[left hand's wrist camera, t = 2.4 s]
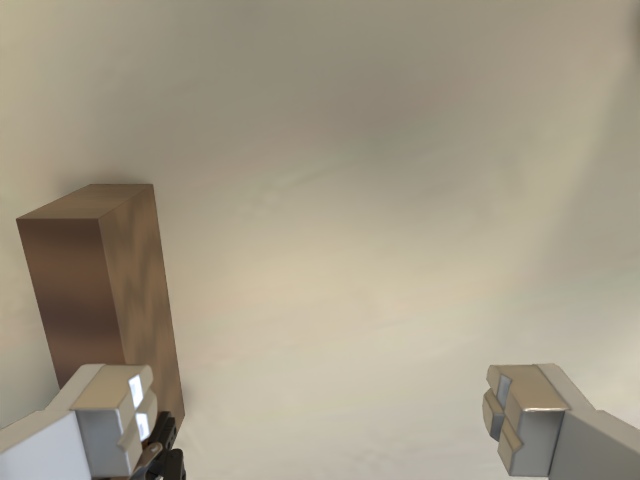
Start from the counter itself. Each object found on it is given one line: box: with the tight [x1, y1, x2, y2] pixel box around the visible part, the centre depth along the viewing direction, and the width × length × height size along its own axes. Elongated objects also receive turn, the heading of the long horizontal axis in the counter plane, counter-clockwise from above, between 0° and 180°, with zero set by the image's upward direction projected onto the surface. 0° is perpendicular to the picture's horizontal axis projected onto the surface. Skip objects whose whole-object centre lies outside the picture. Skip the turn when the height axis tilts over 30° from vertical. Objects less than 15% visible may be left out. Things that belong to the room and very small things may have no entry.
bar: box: [16, 184, 185, 480], centre depth 35 cm, size 24×5×9 cm, turn 0°
